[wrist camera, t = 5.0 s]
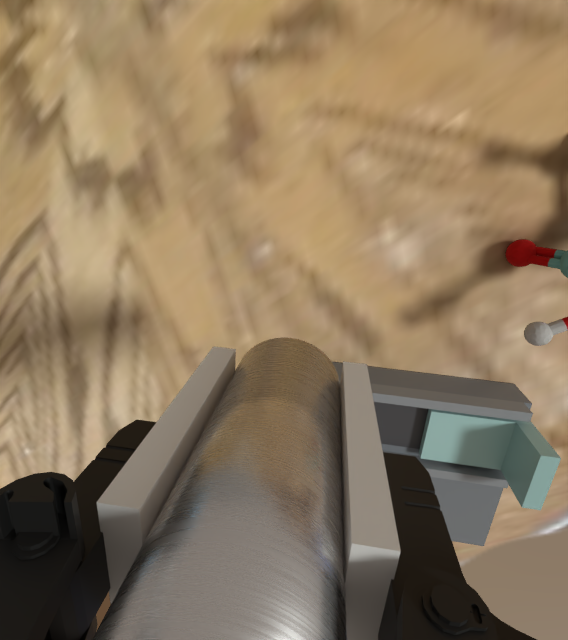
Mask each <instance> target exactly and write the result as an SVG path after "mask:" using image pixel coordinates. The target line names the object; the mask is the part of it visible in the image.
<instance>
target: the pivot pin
mask: <svg viewBox="0 0 568 640" xmlns="http://www.w3.org/2000/svg"><path fill="white" fill-rule="evenodd" d="M92 640H347V630H346V592H345V575H344V535H343V496H342V457H341V417H340V381H339V377H338V373H337V371H336V368H335V367H334V365H333V363H332V362H331V360H330V359H329V358H328V357H327V356H326V355H325V354H324V353H323V352H322V351H321V350H320V349H318V348H317V347H315V346H313V345H312V344H310V343H307V342H305V341H302V340H298V339H293V338H275V339H270V340H267V341H264V342H261V343H259V344H257V345H256V346H254V347H253V348H251V349H250V350H249V351H248V352H247V353H246V354H245V355H244V357H243V358H242V360H241V361H240V363H239V365H238V367H237V369H236V370H235V372H234V374H233V376H232V378H231V380H230V382H229V384H228V386H227V387H226V389H225V391H224V393H223V395H222V397H221V399H220V401H219V402H218V404H217V406H216V408H215V410H214V412H213V414H212V416H211V417H210V419H209V421H208V423H207V425H206V427H205V429H204V431H203V433H202V434H201V436H200V438H199V440H198V442H197V444H196V446H195V448H194V449H193V451H192V453H191V455H190V457H189V459H188V461H187V463H186V464H185V466H184V468H183V470H182V472H181V474H180V476H179V478H178V479H177V481H176V483H175V485H174V487H173V489H172V491H171V493H170V495H169V496H168V498H167V500H166V502H165V504H164V506H163V508H162V510H161V511H160V513H159V515H158V517H157V519H156V521H155V523H154V525H153V526H152V528H151V530H150V532H149V534H148V536H147V538H146V540H145V542H144V543H143V545H142V547H141V549H140V551H139V553H138V555H137V557H136V558H135V560H134V562H133V564H132V566H131V568H130V570H129V572H128V573H127V575H126V577H125V579H124V581H123V583H122V585H121V587H120V588H119V590H118V592H117V594H116V596H115V598H114V600H113V602H112V604H111V605H110V607H109V609H108V611H107V613H106V615H105V617H104V619H103V620H102V622H101V624H100V626H99V628H98V630H97V632H96V634H95V635H94V637H93V639H92Z"/></svg>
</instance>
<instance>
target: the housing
mask: <svg viewBox="0 0 568 640" xmlns="http://www.w3.org/2000/svg"><path fill="white" fill-rule="evenodd" d="M332 363H333V365H334V367H335V368H336V371H337V373H338V377H339V381H341V374H342V366H343V363H338V362H332ZM367 368H368V373H369V379H370V384H371V390H372V395H373V401H374V406H375V412H376V417H377V423H378V428H379V434H380V440H381V445H382V451H383V452H386V453H393V454H401V455H408V456H415V457H416V458H417V459H418V460H419V461H420V462H421V464H422V465H423V466H424V467H425V468H426V470H427V471H428V472H429V474H430V477H431V480H432V483H433V486H434V489H435V495H437V498H438V501H439V504H440V511H442V513H443V516H444V519H445V522H446V525H447V528H448V532H449V535H450V538H451V541H456V542H462V543H468V544H474V545H480V546H484V544H485V541H486V538H487V535H488V532H489V529H490V526H491V523H492V520H493V517H494V514H495V511H496V508H497V505H498V502H499V499H500V497H501V494H502V491H503V488H507V487H508V482H507V480H506V479H505V477H504V475H503V473H502V472H501V470H497V469H490V468H483V467H476V466H469V465H462V464H455V463H448V462H441V461H435V460H428V459H421V458H420V455H419V449H420V445H421V440H422V436H423V432H424V427H425V423H426V419H427V414H428V410H429V409H434V410H441V411H449V412H457V413H464V414H472V415H480V416H487V417H495V418H503V419H510V420H518V421H526V422H530V420H531V417H532V414H533V413H532V412H531V411H530V408H531V405H532V403H531V402H530V401H529V400H528V399H527V397H526V396H525V395H524V394H523V393H522V392H521V391H520V390H519V389H518V387H517V386H516V385H515V384H511V383H503V382H495V381H487V380H478V379H470V378H462V377H454V376H445V375H437V374H429V373H420V372H412V371H404V370H396V369H387V368H379V367H371V366H367Z"/></svg>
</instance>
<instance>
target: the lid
mask: <svg viewBox="0 0 568 640" xmlns="http://www.w3.org/2000/svg"><path fill="white" fill-rule="evenodd" d="M419 455H420V458H421V459H428V460H435V461H441V462H448V463H455V464H462V465H469V466H476V467H483V468H490V469H497V470H501V472H502V473H503V475H504V477H505V479H506V480H507V482H508V484H509V486H510V487H511V489H512V491H513V493H514V494H515V496H516V498H517V500H518V501H519V503H520V505H521V507H523V508H530V509H536V510H541V508H542V506H543V503H544V500H545V498H546V495H547V493H548V490H549V488H550V485H551V483H552V480H553V477H554V475H555V472H556V470H557V467H558V465H559V462H560V460H561V458H560V456H559V455H558V454H557V453H556V452H555V450H554V449H553V448H552V447H551V446H550V444H549V443H548V442H547V441H546V439H545V438H544V437H543V436H542V435H541V433H540V432H539V431H538V430H537V429H536V427H535V426H534V425H533V424H532V422H531V421H530V422H526V421H518V420H510V419H503V418H495V417H487V416H480V415H472V414H464V413H457V412H449V411H441V410H434V409H429V410H428V414H427V419H426V423H425V427H424V432H423V436H422V440H421V445H420V449H419Z"/></svg>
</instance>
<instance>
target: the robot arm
mask: <svg viewBox="0 0 568 640" xmlns="http://www.w3.org/2000/svg"><path fill="white" fill-rule="evenodd" d="M235 356H236V349H230V348H222V347H213V348H212V349H211V350H210V352H209V353H208V354H207V356H206V357H205V358H204V360H203V361H202V362H201V364H200V365H199V366H198V368H197V369H196V370H195V372H194V373H193V374H192V376H191V377H190V378H189V380H188V381H187V382H186V384H185V385H184V386H183V388H182V389H181V390H180V392H179V393H178V394H177V396H176V397H175V398H174V400H173V401H172V402H171V404H170V405H169V406H168V408H167V409H166V410H165V412H164V413H163V414H162V416H161V417H160V418H159V420H158V421H157V422H150V421H143V420H135V421H134V422H132V423H131V424H129V425H127V426H126V427H124V428H122V429H121V430H119V431H118V432H117V433H116V434H115V436H114V437H113V438H112V439H111V440H110V441H109V442H108V444H107V445H106V448H103V449H102V450H101V451H100V453H99V454H98V455H97V456H96V459H95V460H93V461H92V462H91V463H90V464H89V465H88V466H87V467H86V469H85V470H84V471H83V472H82V473H81V474H80V475H79V477H78V478H77V479H76V480H75V481H74V482H73V480H72V479H70V478H69V477H67V476H66V475H65V474H60V473H54V472H47V473H38V474H33V475H30V476H27V477H24V478H21V479H18V480H15V481H14V482H12V483H10V484H8V485H7V486H5V487H3V488H1V489H0V640H92V639H93V637H94V635H95V634H96V629H97V619H96V613H97V611H98V609H99V608H100V606H101V604H102V602H103V600H104V599H105V597H106V595H107V593H108V591H109V596H110V603H111V604H112V602H113V600H114V598H115V596H116V594H117V592H118V590H119V588H120V587H121V585H122V583H123V581H124V579H125V577H126V575H127V573H128V572H129V570H130V568H131V566H132V564H133V562H134V560H135V558H136V557H137V555H138V553H139V551H140V549H141V547H142V545H143V543H144V542H145V540H146V538H147V536H148V534H149V532H150V530H151V528H152V526H153V525H154V523H155V521H156V519H157V517H158V515H159V513H160V511H161V510H162V508H163V506H164V504H165V502H166V500H167V498H168V496H169V495H170V493H171V491H172V489H173V487H174V485H175V483H176V481H177V479H178V478H179V476H180V474H181V472H182V470H183V468H184V466H185V464H186V463H187V461H188V459H189V457H190V455H191V453H192V451H193V449H194V448H195V446H196V444H197V442H198V440H199V438H200V436H201V434H202V433H203V431H204V429H205V427H206V425H207V423H208V421H209V419H210V417H211V416H212V414H213V412H214V410H215V408H216V406H217V404H218V402H219V401H220V399H221V397H222V395H223V393H224V391H225V389H226V387H227V386H228V384H229V382H230V380H231V378H232V376H233V374H234V372H235ZM340 417H341V457H342V496H343V535H344V575H345V592H346V630H347V640H536V639H534V638H532V637H530V636H528V635H526V634H524V633H522V632H520V631H518V630H516V629H514V628H512V627H510V626H509V625H507V624H506V623H504V622H502V621H501V620H499V619H498V618H497V617H495V616H494V615H493V614H492V613H491V612H490V611H489V609H488V607H487V605H486V604H485V603H484V601H483V600H482V599H481V597H480V596H479V595H478V593H477V592H476V591H475V590H474V589H472V588H471V587H470V586H469V585H468V584H467V583H466V581H465V578H464V576H463V574H462V571H461V568H460V565H459V562H458V559H457V556H456V553H455V550H454V547H453V544H452V541H451V538H450V535H449V532H448V528H447V525H446V522H445V519H444V516H443V513H442V511H440V504H439V501H438V498H437V495H435V489H434V486H433V483H432V480H431V477H430V474H429V472H428V471H427V470H426V468H425V467H424V466H423V465H422V464H421V462H420V461H419V460H418V459H417V458H416V457H415V456H408V455H401V454H393V453H386V452H383V451H382V445H381V440H380V434H379V428H378V423H377V417H376V412H375V406H374V401H373V395H372V390H371V384H370V379H369V373H368V368H367V364H360V363H352V362H343V366H342V374H341V381H340Z"/></svg>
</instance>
